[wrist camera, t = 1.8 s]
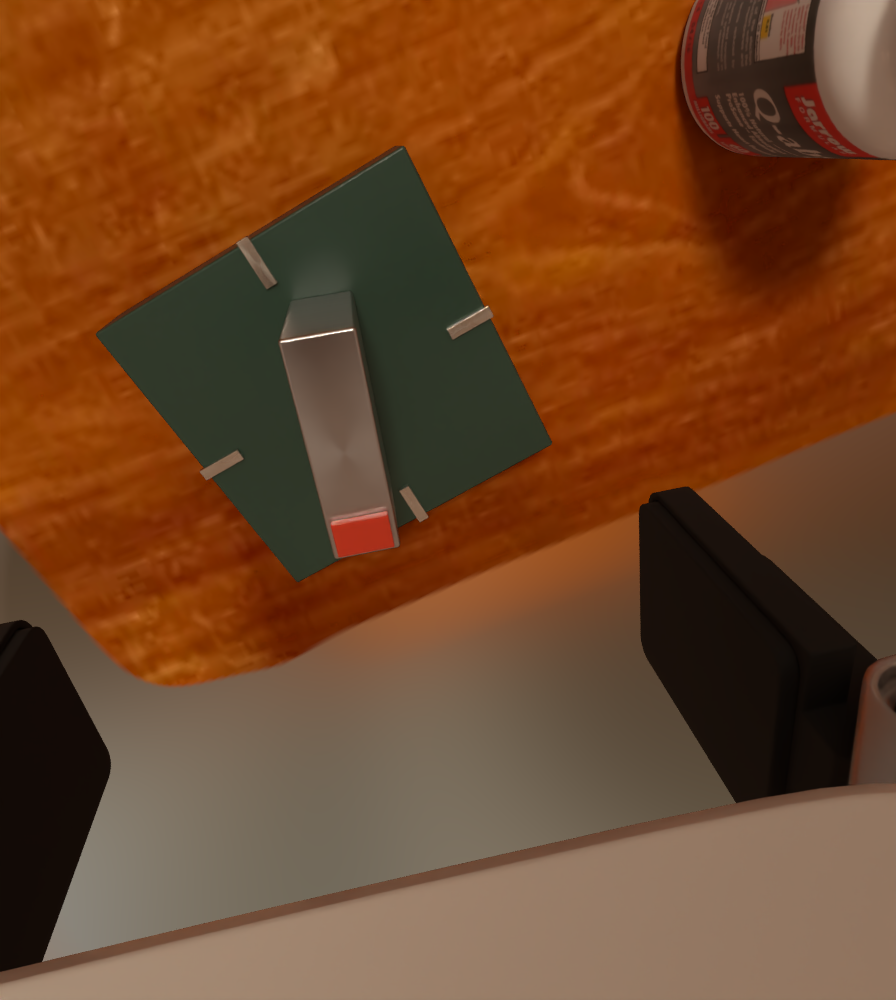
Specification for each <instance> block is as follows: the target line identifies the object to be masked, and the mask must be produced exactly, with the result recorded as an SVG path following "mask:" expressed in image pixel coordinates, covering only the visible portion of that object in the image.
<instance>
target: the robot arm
mask: <svg viewBox="0 0 896 1000" xmlns="http://www.w3.org/2000/svg"><path fill="white" fill-rule="evenodd" d="M639 540H640V541H639V542H640V544H639V546H640V616H641V618H640V619H641V642H642V646H643V650H644V653H645V655H646V657H647V659H648V661H649V663H650V664H651V666H652V667H653V669H654V671H655V672H656V674H657V676H658V677H659V679H660V680H661V682H662V683H663V685H664V687H665V688H666V690H667V692H668V693H669V695H670V697H671V698H672V700H673V701H674V703H675V705H676V706H677V708H678V710H679V711H680V713H681V714H682V716H683V718H684V719H685V721H686V722H687V724H688V726H689V727H690V729H691V731H692V732H693V734H694V736H695V737H696V738H697V740H698V742H699V744H700V745H701V747H702V748H703V750H704V752H705V753H706V755H707V756H708V758H709V760H710V761H711V763H712V765H713V766H714V768H715V769H716V771H717V773H718V774H719V776H720V777H721V779H722V781H723V782H724V784H725V786H726V787H727V789H728V790H729V792H730V794H731V795H732V797H733V799H734V800H735V802H736V803H735V804H730V805H726V806H720V807H716V808H711V809H706V810H701V811H696V812H692V813H687V814H682V815H678V816H672V817H668V818H663V819H658V820H654V821H648V822H644V823H639V824H635V825H630V826H626V827H621V828H617V829H613V830H608V831H604V832H600V833H595V834H590V835H586V836H582V837H577V838H573V839H568V840H564V841H560V842H555V843H551V844H546V845H542V846H537V847H533V848H529V849H524V850H520V851H515V852H511V853H506V854H502V855H498V856H494V857H489V858H485V859H480V860H476V861H471V862H467V863H462V864H458V865H453V866H449V867H445V868H441V869H436V870H432V871H428V872H424V873H419V874H415V875H410V876H406V877H402V878H397V879H393V880H388V881H385V882H380V883H376V884H371V885H367V886H363V887H358V888H354V889H350V890H345V891H341V892H337V893H332V894H328V895H324V896H320V897H315V898H311V899H307V900H303V901H298V902H294V903H289V904H285V905H281V906H277V907H272V908H268V909H264V910H259V911H255V912H251V913H247V914H242V915H239V916H234V917H229V918H225V919H221V920H217V921H212V922H208V923H204V924H200V925H195V926H191V927H187V928H183V929H179V930H175V931H170V932H166V933H162V934H158V935H154V936H149V937H145V938H141V939H137V940H132V941H128V942H124V943H120V944H116V945H112V946H107V947H104V948H99V949H95V950H91V951H86V952H82V953H78V954H74V955H69V956H65V957H61V958H57V959H53V960H49V961H44V962H42V961H43V958H44V955H45V952H46V950H47V947H48V944H49V941H50V939H51V936H52V933H53V930H54V927H55V924H56V922H57V919H58V916H59V914H60V911H61V908H62V905H63V903H64V900H65V897H66V894H67V892H68V889H69V886H70V883H71V881H72V878H73V875H74V872H75V869H76V867H77V864H78V861H79V858H80V856H81V853H82V850H83V847H84V845H85V842H86V839H87V836H88V834H89V831H90V828H91V825H92V822H93V820H94V817H95V814H96V811H97V808H98V806H99V803H100V800H101V797H102V795H103V792H104V789H105V787H106V784H107V781H108V778H109V775H110V769H111V760H110V755H109V752H108V749H107V747H106V746H105V744H104V742H103V740H102V738H101V736H100V734H99V732H98V731H97V729H96V727H95V725H94V723H93V721H92V719H91V718H90V716H89V714H88V712H87V710H86V708H85V706H84V704H83V702H82V701H81V699H80V697H79V695H78V693H77V691H76V689H75V687H74V686H73V684H72V682H71V680H70V678H69V676H68V674H67V672H66V670H65V668H64V667H63V665H62V663H61V661H60V659H59V657H58V655H57V653H56V652H55V650H54V648H53V646H52V644H51V642H50V640H49V638H48V637H47V635H46V633H45V632H44V630H43V629H41V628H40V627H32V626H31V625H30V624H29V623H28V622H26V621H23V620H19V621H14V622H9V623H3V624H0V1000H896V655H892V656H888V657H885V658H881V659H878V660H877V659H876V658H875V657H874V656H873V655H872V654H870V653H869V652H868V651H867V650H866V649H865V648H864V647H863V646H862V645H861V644H860V643H859V642H858V641H856V639H854V638H853V637H852V636H851V635H850V634H849V633H848V632H847V631H846V630H845V629H843V627H842V626H841V625H840V624H838V623H837V622H836V621H835V620H834V619H833V618H832V617H831V616H830V615H829V614H828V613H827V612H826V611H825V610H823V609H822V608H821V607H820V606H819V605H818V604H817V603H816V602H815V601H814V600H813V599H812V598H811V597H809V596H808V595H807V594H806V593H805V592H804V591H803V590H802V589H801V588H800V587H799V586H798V585H797V584H796V583H794V582H793V581H792V580H791V579H790V578H789V577H788V576H787V575H786V574H785V573H784V572H783V571H782V570H781V569H780V568H779V567H777V566H776V565H775V564H774V563H773V562H772V561H771V560H769V559H768V558H766V557H765V556H763V555H761V554H760V553H759V552H758V551H757V550H756V549H755V548H754V547H753V546H752V545H751V544H750V543H749V542H748V541H747V540H746V539H744V538H743V537H742V536H741V535H740V534H739V533H738V532H737V531H736V530H735V529H734V528H733V527H732V526H731V525H730V524H728V523H727V522H726V521H725V520H724V519H723V518H722V517H721V516H720V515H719V514H718V513H717V512H716V511H715V510H714V509H712V507H710V506H709V505H708V504H707V503H706V502H705V501H704V500H703V499H702V498H701V497H700V496H699V495H698V494H697V493H696V492H695V491H693V490H692V489H691V488H689V487H681V488H676V489H671V490H666V491H661V492H656V493H652V494H651V495H650V498H649V503H647V504H642V505H641V506H640V509H639Z"/></svg>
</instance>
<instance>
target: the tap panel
mask: <svg viewBox="0 0 896 1000" xmlns="http://www.w3.org/2000/svg"><path fill="white" fill-rule="evenodd" d="M346 291H352V293H353V296H354V301H355V306H356V311H357V316H358V321H359V326H360V331H361V336H362V341H363V346H364V351H365V355H366V360H367V365H368V370H369V375H370V380H371V385H372V390H373V395H374V400H375V405H376V410H377V415H378V420H379V425H380V430H381V435H382V440H383V445H384V450H385V455H386V460H387V464H388V469H389V474H390V481H391V487H392V494H393V500H394V506H395V513H396V519H397V526H398V528H399V527H401V526H402V525H404V524H406V523H408V522H410V521H412V520H413V519H415V518H417V519H418V521H419V522H421V521H423V520H425V519H427V518H428V514H427V513H426V512H428V511H430V510H432V509H434V508H436V507H437V506H439V505H441V504H443V503H445V502H447V501H448V500H450V499H452V498H454V497H456V496H458V495H459V494H461V493H463V492H465V491H467V490H469V489H470V488H472V487H474V486H476V485H478V484H480V483H482V482H483V481H485V480H487V479H489V478H491V477H493V476H494V475H496V474H498V473H500V472H502V471H504V470H505V469H507V468H509V467H511V466H513V465H515V464H517V463H518V462H520V461H522V460H524V459H526V458H528V457H529V456H531V455H533V454H535V453H537V452H539V451H540V450H542V449H544V448H546V447H548V446H550V445H551V444H552V441H551V439H550V437H549V435H548V433H547V431H546V429H545V427H544V425H543V423H542V421H541V419H540V417H539V415H538V413H537V411H536V409H535V407H534V405H533V403H532V401H531V399H530V397H529V395H528V393H527V391H526V389H525V387H524V385H523V383H522V381H521V379H520V377H519V375H518V373H517V371H516V369H515V367H514V365H513V363H512V361H511V359H510V357H509V355H508V353H507V351H506V349H505V347H504V345H503V343H502V341H501V339H500V337H499V335H498V333H497V331H496V329H495V327H494V325H493V323H492V321H491V319H490V318H492V317H493V314H492V312H491V310H490V308H489V306H488V305H487V306H485V307H484V305H483V303H482V301H481V299H480V297H479V295H478V293H477V291H476V289H475V287H474V285H473V283H472V281H471V279H470V277H469V275H468V273H467V271H466V269H465V267H464V264H463V262H462V260H461V258H460V256H459V254H458V252H457V250H456V248H455V246H454V244H453V242H452V240H451V238H450V236H449V234H448V232H447V230H446V228H445V226H444V224H443V222H442V220H441V218H440V216H439V214H438V212H437V210H436V208H435V206H434V204H433V202H432V200H431V198H430V196H429V194H428V192H427V190H426V188H425V186H424V184H423V182H422V180H421V178H420V176H419V174H418V172H417V170H416V168H415V166H414V164H413V162H412V160H411V158H410V156H409V154H408V152H407V150H406V148H405V147H404V146H394V147H393V148H391V149H389V150H388V151H386V152H385V153H383V154H381V155H380V156H378V157H376V158H375V159H373V160H371V161H370V162H368V163H367V164H365V165H363V166H362V167H360V168H358V169H357V170H355V171H353V172H352V173H350V174H349V175H347V176H345V177H344V178H342V179H340V180H339V181H337V182H335V183H334V184H332V185H331V186H329V187H327V188H326V189H324V190H322V191H321V192H319V193H318V194H316V195H314V196H313V197H311V198H309V199H308V200H306V201H304V202H303V203H301V204H300V205H298V206H296V207H295V208H293V209H291V210H290V211H288V212H286V213H285V214H283V215H282V216H280V217H278V218H277V219H275V220H273V221H272V222H270V223H268V224H267V225H265V226H264V227H262V228H260V229H259V230H257V231H255V232H254V233H252V234H251V235H249V236H246V237H245V238H243V239H241V240H240V241H238V242H237V243H236V244H234V245H233V246H231V247H229V248H228V249H226V250H224V251H223V252H221V253H219V254H218V255H216V256H215V257H213V258H211V259H210V260H208V261H206V262H205V263H203V264H201V265H200V266H198V267H197V268H195V269H193V270H192V271H190V272H188V273H187V274H185V275H184V276H182V277H180V278H179V279H177V280H175V281H174V282H172V283H170V284H169V285H167V286H166V287H164V288H162V289H161V290H159V291H157V292H156V293H154V294H152V295H151V296H149V297H148V298H146V299H144V300H143V301H141V302H139V303H138V304H136V305H134V306H133V307H131V308H130V309H128V310H126V311H125V312H123V313H121V314H120V315H119V316H117V317H116V318H115V319H113V320H112V321H111V322H110V323H108V324H107V325H106V326H104V327H103V328H102V329H101V330H99V331H98V332H97V333H96V336H97V337H98V339H99V340H100V341H101V342H102V344H103V345H104V346H105V347H106V348H107V350H108V351H109V352H110V353H111V355H112V356H113V357H114V358H115V359H116V361H117V362H118V363H119V364H120V366H121V367H122V368H123V369H124V371H125V372H126V373H127V374H128V375H129V377H130V378H131V379H132V380H133V382H134V383H135V384H136V385H137V386H138V388H139V389H140V390H141V391H142V393H143V394H144V395H145V396H146V398H147V399H148V400H149V401H150V402H151V404H152V405H153V406H154V407H155V409H156V410H157V411H158V412H159V413H160V415H161V416H162V417H163V418H164V420H165V421H166V422H167V423H168V424H169V426H170V427H171V428H172V429H173V431H174V432H175V433H176V434H177V436H178V437H179V438H180V439H181V440H182V442H183V443H184V444H185V445H186V447H187V448H188V449H189V450H190V451H191V453H192V454H193V455H194V456H195V458H196V459H197V460H198V461H199V463H200V464H201V465H202V466H203V467H204V468H202V469H201V470H200V473H201V474H202V475H203V477H204V478H205V479H206V480H208V479H210V478H213V480H214V481H215V482H216V483H217V485H218V486H219V487H220V488H221V490H222V491H223V492H224V493H225V494H226V496H227V497H228V498H229V499H230V501H231V502H232V503H233V504H234V505H235V507H236V508H237V509H238V510H239V512H240V513H241V514H242V515H243V517H244V518H245V519H246V520H247V521H248V523H249V524H250V525H251V526H252V528H253V529H254V530H255V531H256V532H257V534H258V535H259V536H260V537H261V539H262V540H263V541H264V542H265V543H266V545H267V546H268V547H269V548H270V550H271V551H272V552H273V553H274V555H275V556H276V557H277V558H278V559H279V561H280V562H281V563H282V564H283V566H284V567H285V568H286V569H287V570H288V572H289V573H290V574H291V575H292V577H293V578H294V579H295V580H296V581H297V582H299V581H301V580H303V579H305V578H307V577H308V576H310V575H312V574H314V573H316V572H318V571H319V570H321V569H323V568H325V567H327V566H329V565H331V564H332V563H334V562H336V561H338V560H340V559H342V558H339V559H336V558H335V557H334V554H333V551H332V547H331V543H330V539H329V535H328V532H327V528H326V524H325V520H324V516H323V512H322V509H321V505H320V501H319V497H318V493H317V490H316V486H315V482H314V478H313V474H312V470H311V467H310V463H309V459H308V455H307V451H306V448H305V444H304V440H303V436H302V432H301V428H300V425H299V421H298V417H297V413H296V409H295V406H294V402H293V398H292V394H291V390H290V386H289V383H288V379H287V375H286V371H285V367H284V364H283V360H282V356H281V352H280V348H279V344H278V341H279V338H280V334H281V331H282V328H283V325H284V321H285V318H286V315H287V312H288V308H289V305H290V302H291V301H294V300H299V299H305V298H311V297H317V296H323V295H328V294H334V293H340V292H346Z"/></svg>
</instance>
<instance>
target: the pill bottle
mask: <svg viewBox="0 0 896 1000" xmlns="http://www.w3.org/2000/svg"><path fill="white" fill-rule="evenodd" d="M681 77H682V84H683V90H684V95H685V98H686V102H687V104H688V107H689V109H690V112H691V114H692V116H693V117H694V119H695V121H696V123H697V124H698V125H699V127H700V128H701V129H702V131H703V132H704V133H705V134H706V135H707V136H708V137H709V138H711V139H712V140H713V141H714V142H716V143H717V144H718V145H720V146H722V147H723V148H725V149H728V150H730V151H732V152H736V153H740V154H744V155H751V156H765V157H803V158H840V159H872V160H896V0H696V1H695V3H694V5H693V8H692V10H691V13H690V15H689V19H688V22H687V25H686V29H685V33H684V38H683V43H682V51H681Z"/></svg>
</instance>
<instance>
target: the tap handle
mask: <svg viewBox="0 0 896 1000" xmlns="http://www.w3.org/2000/svg"><path fill="white" fill-rule="evenodd" d="M278 344H279V348H280V352H281V356H282V360H283V364H284V367H285V371H286V375H287V379H288V383H289V386H290V390H291V394H292V398H293V402H294V406H295V409H296V413H297V417H298V421H299V425H300V428H301V432H302V436H303V440H304V444H305V448H306V451H307V455H308V459H309V463H310V467H311V470H312V474H313V478H314V482H315V486H316V490H317V493H318V497H319V501H320V505H321V509H322V512H323V516H324V520H325V524H326V528H327V532H328V535H329V539H330V543H331V547H332V551H333V554H334V557H335V558H336V559H339V558H344V557H350V556H355V555H360V554H365V553H370V552H375V551H380V550H385V549H390V548H396V547H399V546H400V539H399V532H398V526H397V519H396V513H395V506H394V500H393V494H392V487H391V481H390V474H389V469H388V464H387V460H386V455H385V450H384V445H383V440H382V435H381V430H380V425H379V420H378V415H377V410H376V405H375V400H374V395H373V390H372V385H371V380H370V375H369V370H368V365H367V360H366V355H365V351H364V346H363V341H362V336H361V331H360V326H359V321H358V316H357V311H356V306H355V301H354V296H353V293H352V291H346V292H340V293H334V294H328V295H323V296H317V297H311V298H305V299H299V300H294V301H291V302H290V305H289V308H288V312H287V315H286V318H285V321H284V325H283V328H282V331H281V334H280V338H279V341H278Z"/></svg>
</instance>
